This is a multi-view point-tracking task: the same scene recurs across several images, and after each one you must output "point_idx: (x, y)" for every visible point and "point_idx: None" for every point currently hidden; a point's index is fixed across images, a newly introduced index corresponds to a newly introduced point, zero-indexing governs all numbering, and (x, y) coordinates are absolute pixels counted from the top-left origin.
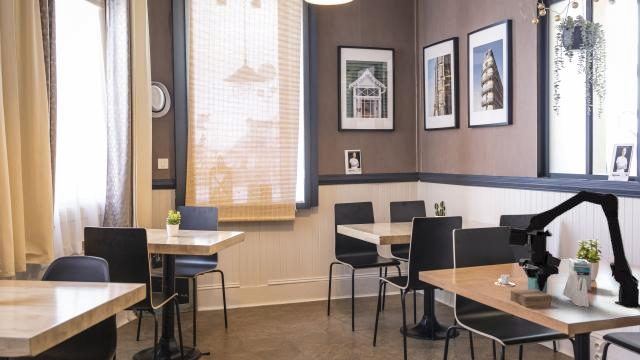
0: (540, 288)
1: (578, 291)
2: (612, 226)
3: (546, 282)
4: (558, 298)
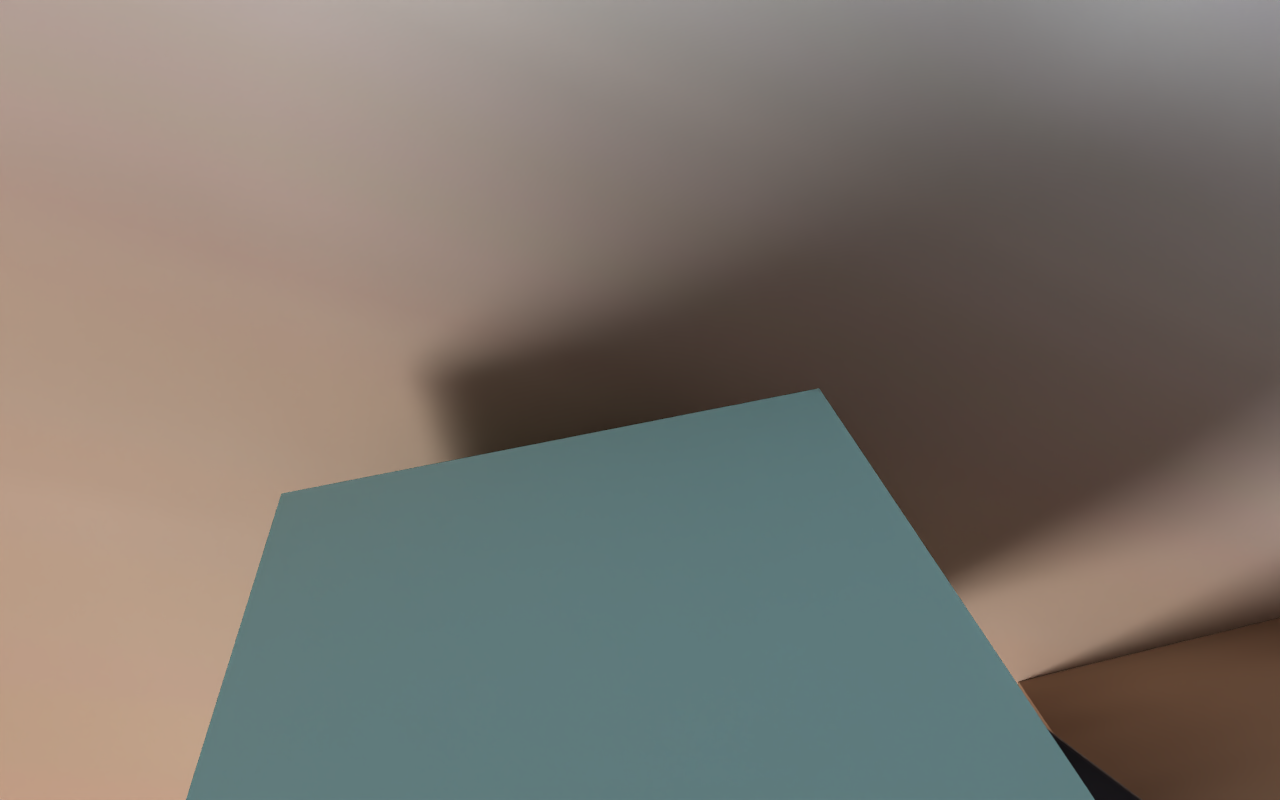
0: None
1: None
2: None
3: (1054, 786)
4: (1135, 26)
